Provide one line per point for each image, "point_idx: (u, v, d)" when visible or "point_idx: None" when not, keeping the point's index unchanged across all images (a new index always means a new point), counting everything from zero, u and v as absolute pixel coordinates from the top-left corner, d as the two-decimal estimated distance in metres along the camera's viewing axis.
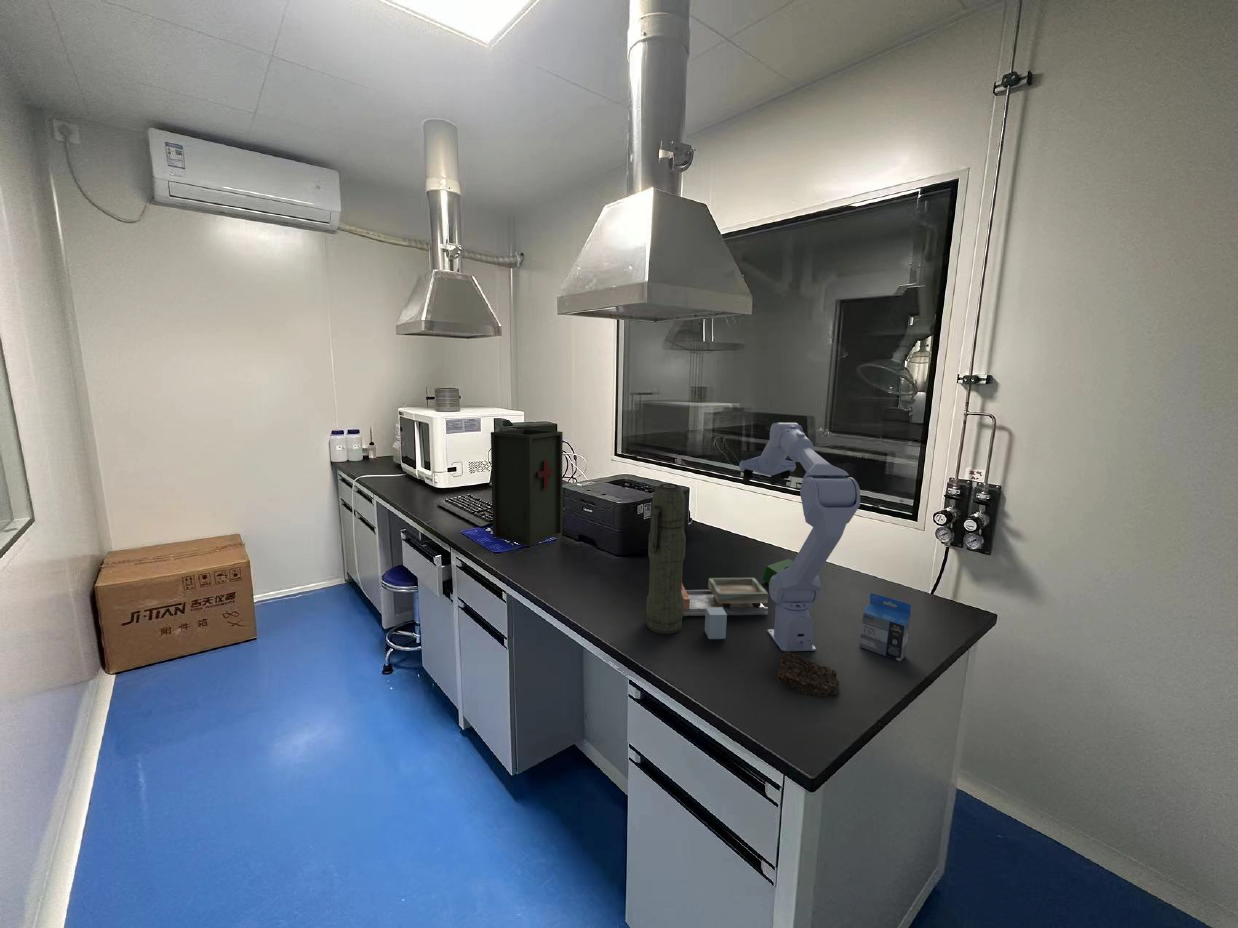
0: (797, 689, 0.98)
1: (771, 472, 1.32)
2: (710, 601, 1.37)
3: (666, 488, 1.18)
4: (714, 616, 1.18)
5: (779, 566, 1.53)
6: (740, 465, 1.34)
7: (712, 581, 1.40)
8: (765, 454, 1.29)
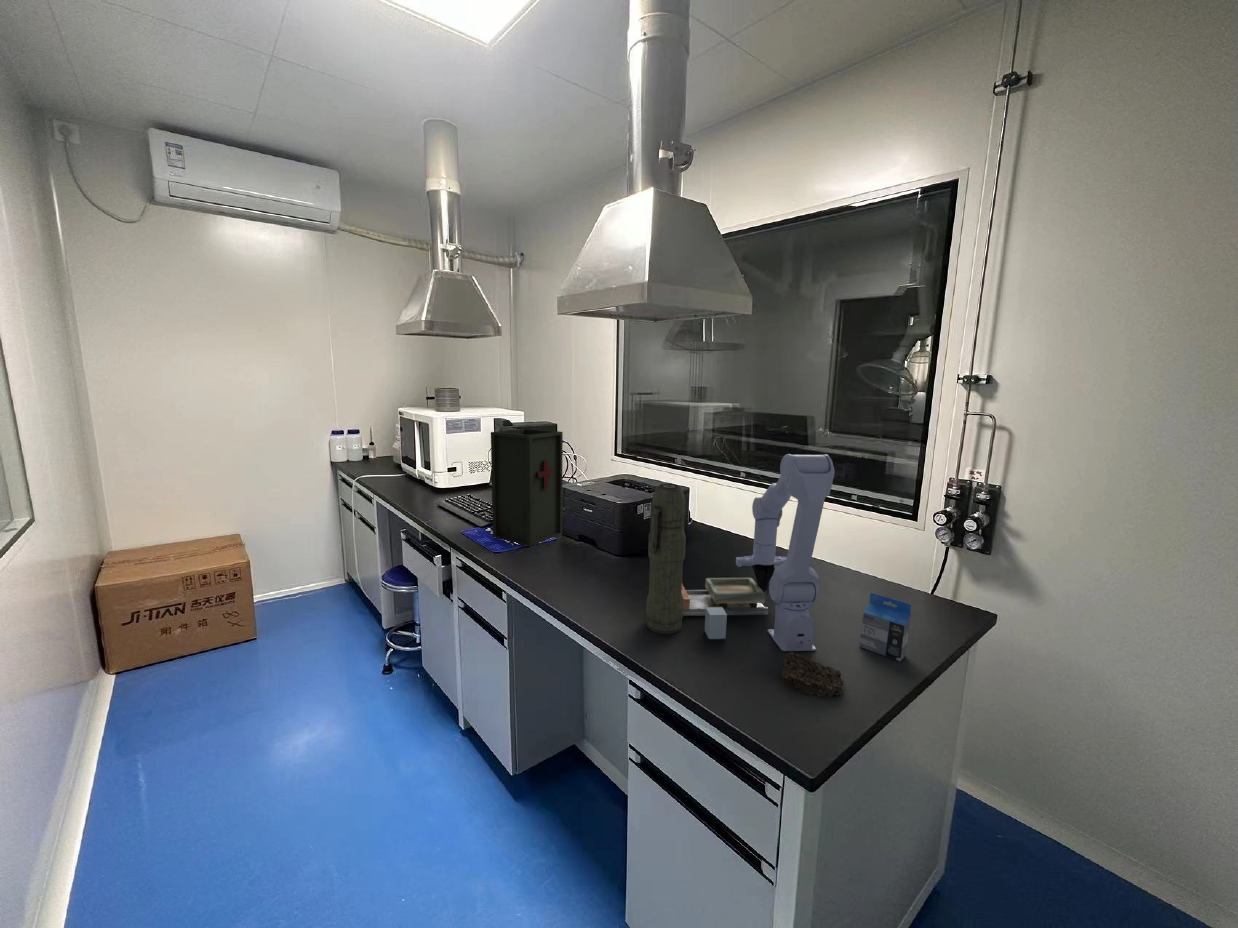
0: (801, 689, 0.98)
1: (767, 560, 1.33)
2: (710, 601, 1.37)
3: (666, 488, 1.18)
4: (714, 616, 1.18)
5: (778, 565, 1.53)
6: (736, 561, 1.36)
7: (709, 581, 1.39)
8: (755, 538, 1.35)
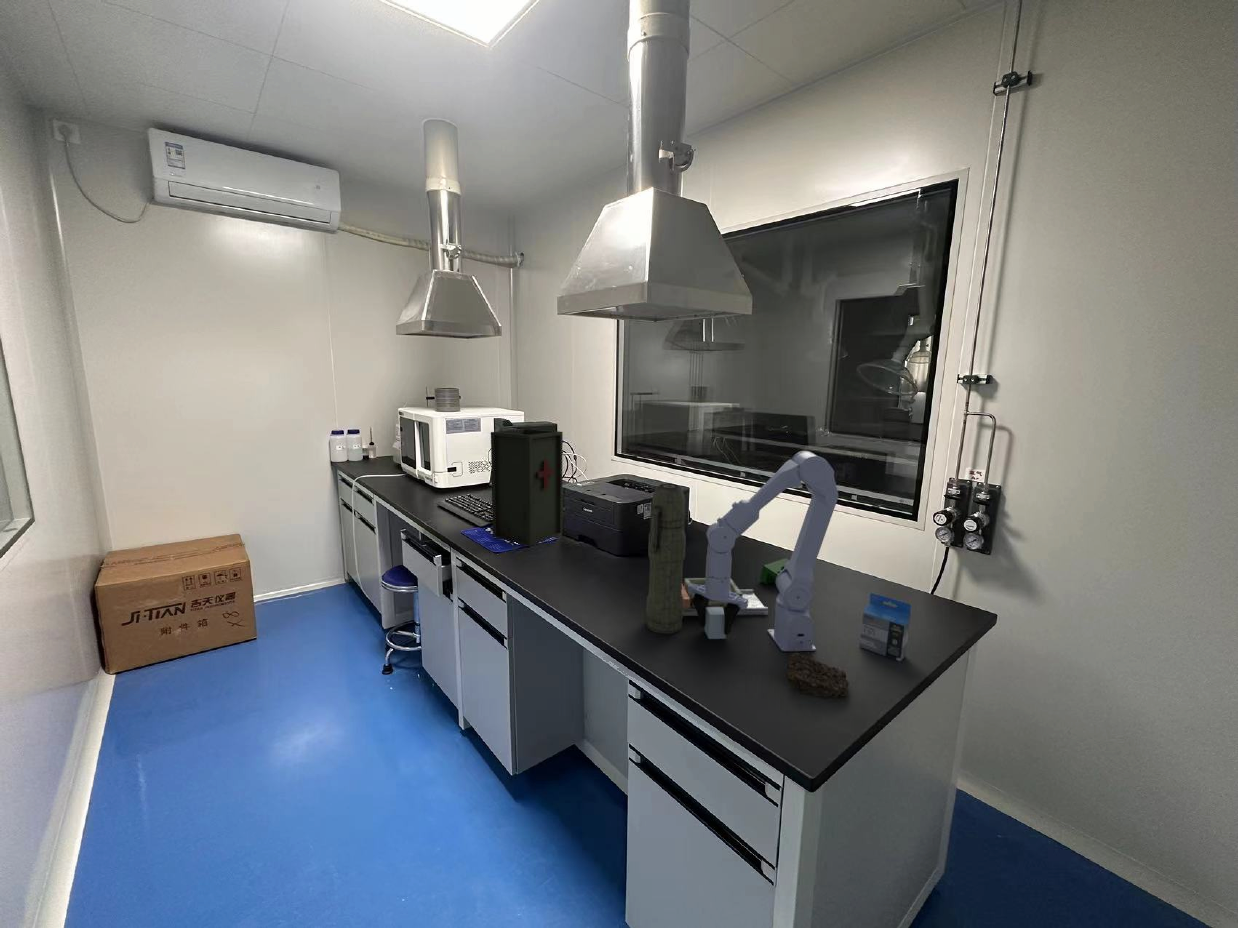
0: (807, 691, 0.98)
1: (712, 594, 1.17)
2: None
3: (666, 488, 1.18)
4: (714, 616, 1.18)
5: (776, 565, 1.53)
6: None
7: (687, 581, 1.39)
8: (722, 573, 1.16)
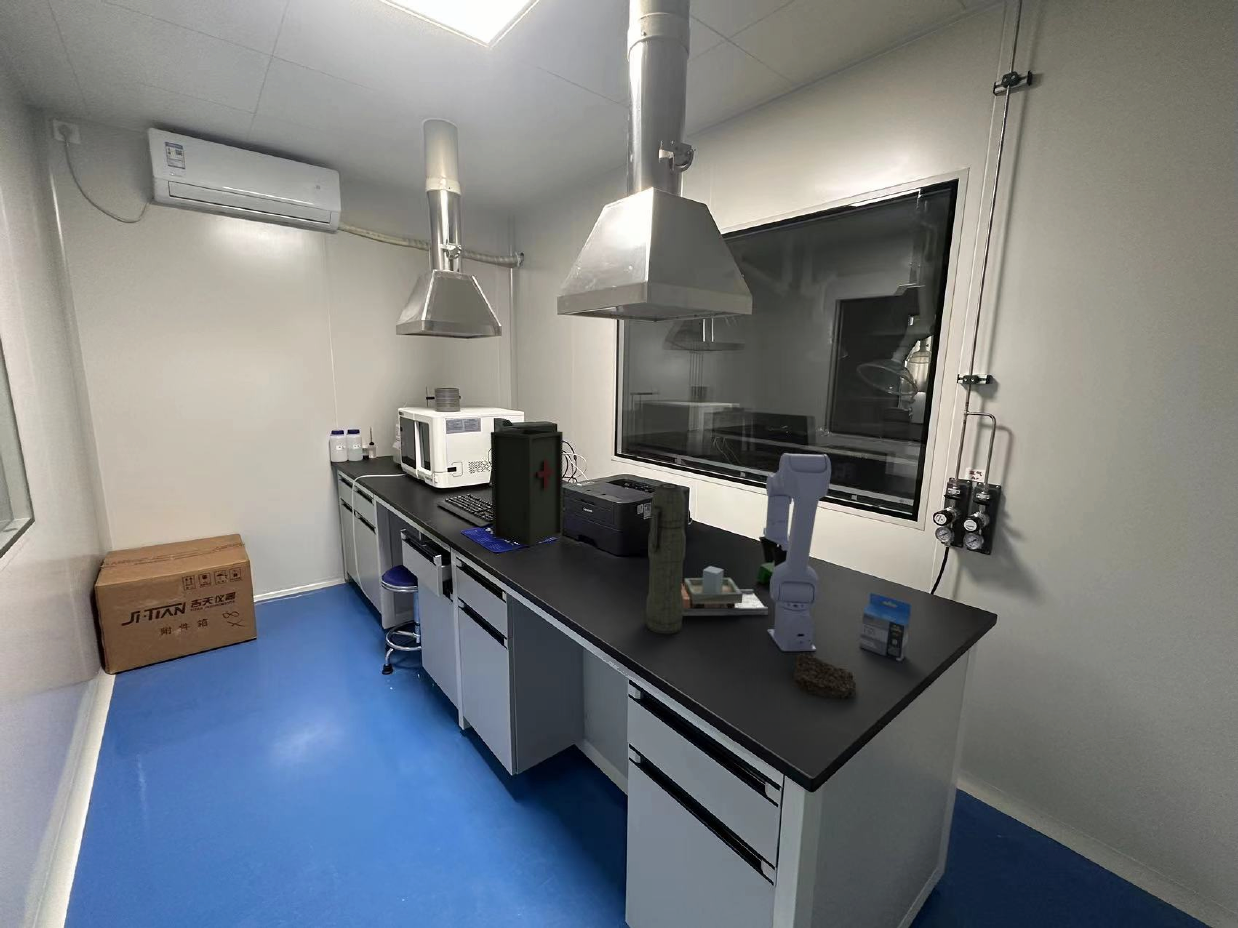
0: (814, 691, 0.98)
1: (766, 533, 1.38)
2: None
3: (666, 488, 1.18)
4: (706, 572, 1.35)
5: (773, 565, 1.53)
6: None
7: (687, 581, 1.39)
8: (767, 514, 1.37)
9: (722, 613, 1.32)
